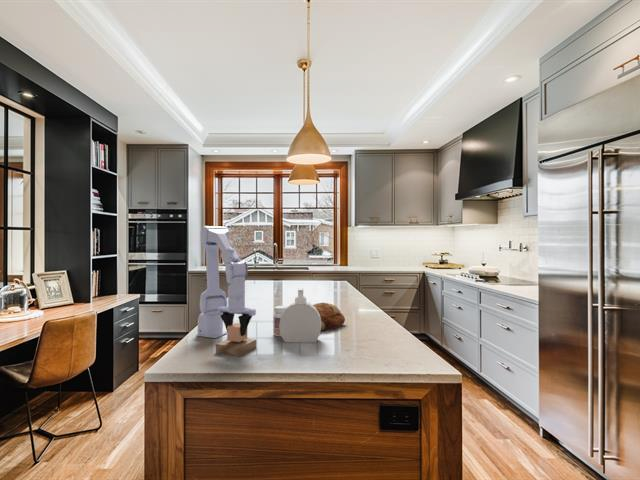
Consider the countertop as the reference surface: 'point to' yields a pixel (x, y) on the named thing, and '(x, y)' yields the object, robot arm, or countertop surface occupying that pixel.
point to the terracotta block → (235, 333)
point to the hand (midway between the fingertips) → (236, 334)
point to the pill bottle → (278, 319)
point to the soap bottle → (300, 321)
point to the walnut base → (236, 347)
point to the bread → (329, 316)
